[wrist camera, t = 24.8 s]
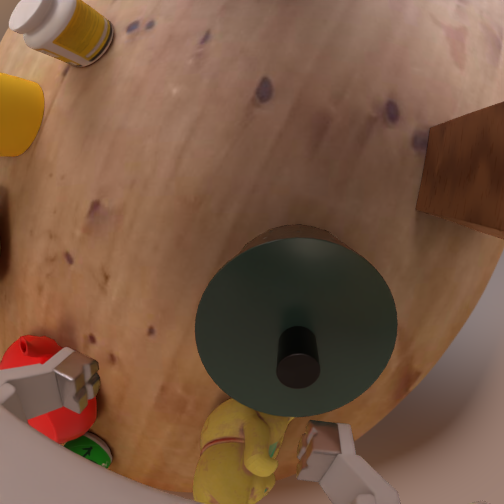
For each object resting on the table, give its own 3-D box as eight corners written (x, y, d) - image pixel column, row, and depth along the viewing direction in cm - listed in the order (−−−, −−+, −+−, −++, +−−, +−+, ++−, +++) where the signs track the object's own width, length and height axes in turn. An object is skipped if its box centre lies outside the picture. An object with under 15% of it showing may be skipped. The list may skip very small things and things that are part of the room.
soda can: (88, 454, 38) (56, 498, 27) (69, 424, 37) (31, 468, 25) (122, 463, 37) (92, 513, 26) (103, 432, 36) (66, 484, 24)
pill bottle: (123, 18, 24) (64, -30, 12) (104, 67, 25) (33, 31, 14) (81, 23, 24) (21, -12, 13) (63, 70, 25) (-6, 44, 14)
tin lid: (217, 213, 19) (195, 221, 14) (418, 260, 18) (450, 281, 14) (189, 385, 22) (170, 423, 17) (353, 417, 21) (362, 458, 17)
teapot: (95, 445, 37) (60, 493, 25) (24, 390, 37) (-17, 427, 25) (127, 340, 31) (66, 402, 19) (33, 270, 31) (-38, 301, 19)
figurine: (263, 449, 32) (248, 548, 18) (199, 423, 33) (160, 520, 18) (311, 392, 30) (317, 508, 15) (237, 359, 30) (200, 474, 15)
